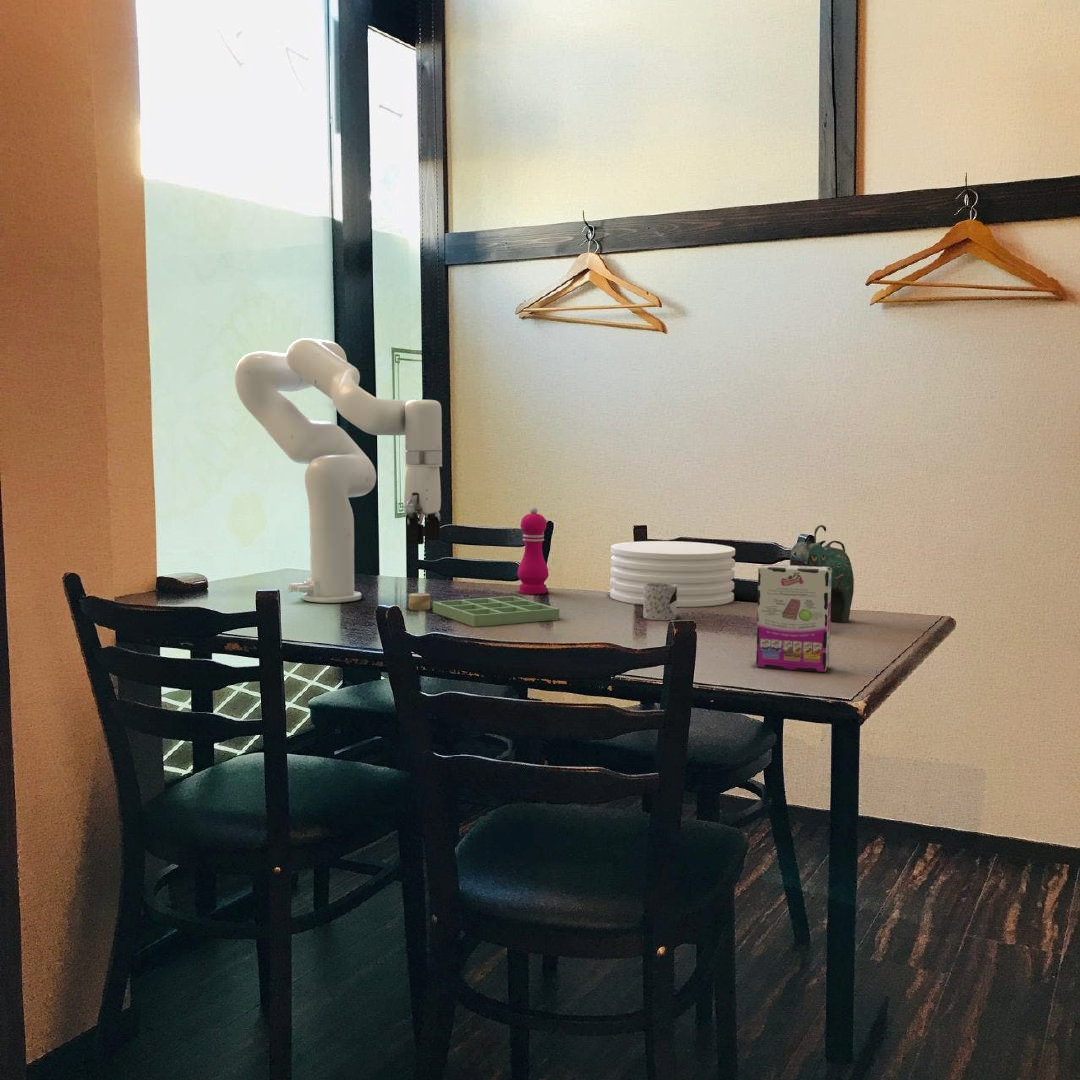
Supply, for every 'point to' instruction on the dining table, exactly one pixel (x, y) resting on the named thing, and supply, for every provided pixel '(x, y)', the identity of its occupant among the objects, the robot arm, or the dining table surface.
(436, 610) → the grid
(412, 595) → the token
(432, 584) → the dining table surface
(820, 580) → the candy bar box
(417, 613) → the dining table surface
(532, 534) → the pepper mill
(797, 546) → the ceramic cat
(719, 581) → the plate stack
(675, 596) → the mug
